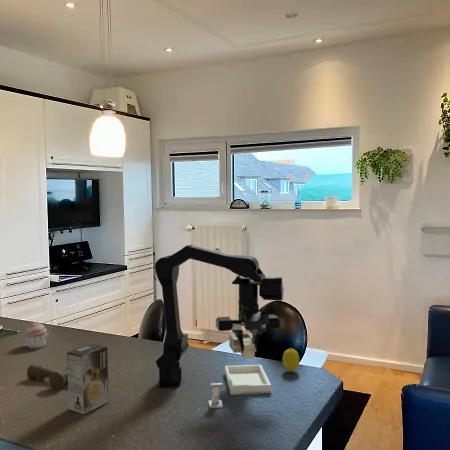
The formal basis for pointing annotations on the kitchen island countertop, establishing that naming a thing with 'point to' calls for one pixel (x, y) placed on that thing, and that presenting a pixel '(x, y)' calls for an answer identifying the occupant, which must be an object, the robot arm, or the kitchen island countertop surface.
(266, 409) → the kitchen island countertop surface
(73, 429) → the kitchen island countertop surface
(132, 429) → the kitchen island countertop surface
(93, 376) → the food box
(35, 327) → the cupcake
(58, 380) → the olive brown dumbbell-shaped piece
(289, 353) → the lemon
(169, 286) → the robot arm
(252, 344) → the birch collar
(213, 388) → the t stake
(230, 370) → the tray
